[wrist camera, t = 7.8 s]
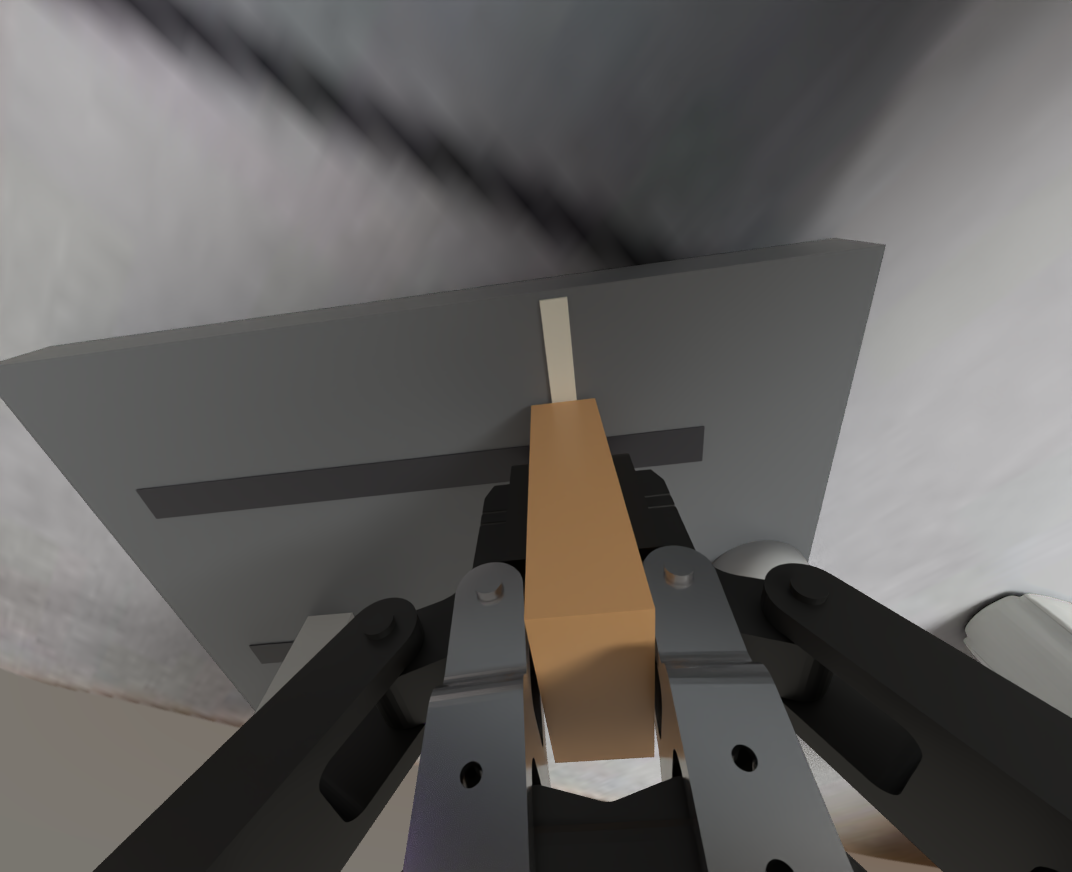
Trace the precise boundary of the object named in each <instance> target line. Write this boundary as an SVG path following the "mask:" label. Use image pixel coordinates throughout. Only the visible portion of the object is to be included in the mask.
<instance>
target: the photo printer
mask: <svg viewBox="0 0 1072 872" xmlns="http://www.w3.org/2000/svg"><path fill="white" fill-rule="evenodd" d="M965 633H966V634H967V637H966V638H965V639H964V643H965V645H966V646H967V647H968V649H969V650H970V651H971V652H972V654H973V655H974V656H975V657H976V658H977V659H978V660H979V662H980V663H981V664H982V665H984V666H986V667H987V668H989V669H991V670H992V671H994V672H996V673H997V674H999V675H1001V676H1002V677H1004V678H1006V679H1007V680H1009V681H1011V682H1012V683H1014V684H1016V685H1017V686H1019V687H1021V688H1023V689H1024V690H1026V691H1028V692H1029V693H1031V694H1033V695H1034V696H1036V697H1038V698H1039V699H1041V700H1043V701H1044V702H1046V703H1048V704H1049V705H1051V706H1053V707H1054V708H1056V709H1058V710H1059V711H1061V712H1063V713H1064V714H1066V715H1068V716H1069V717H1071V718H1072V603H1070V602H1066V601H1063V600H1059V599H1056V598H1052V597H1048V596H1043V595H1037V594H1029V593H1027V594H1024V595H1023V596H1021V597H1018V596H1007V597H1005V598H1002V599H1000V600H998V601H996V602H994V603H992V604H990V605H989V606H987V607H985V608H984V609H982V610H981V611H980V612H978V613H977V614H976V615H975V616H974V617H973V618H972V619H971V620H970V621H969V623H968V624H967V626H966V628H965Z"/></svg>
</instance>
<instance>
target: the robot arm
mask: <svg viewBox="0 0 1072 872" xmlns="http://www.w3.org/2000/svg"><path fill="white" fill-rule="evenodd" d="M611 456H612V459H613V463H614V466H615V470H616V473H617V477H618V480H619V484H620V487H621V491H622V494H623V498H624V501H625V505H626V508H627V512H628V515H629V519H630V522H631V526H632V529H633V533H634V536H635V540H636V543H637V547H638V550H639V554H640V557H641V561H642V564H643V568H644V571H645V575H646V578H647V582H648V585H649V589H650V592H651V596H652V599H653V603H654V606H655V718H654V722H655V729H656V735H657V741H658V748H659V756H660V767H661V778H662V782H661V783H658V784H656V785H653V786H651V787H648V788H646V789H643V790H641V791H638V792H636V793H633V794H631V795H628V796H626V797H623V798H621V799H618V800H616V801H612V802H603V801H598V800H595V799H591V798H587V797H584V796H580V795H576V794H572V793H569V792H565V791H561V790H557V789H554V788H551V784H550V776H549V770H548V762H547V752H546V739H545V725H544V711H543V704H542V700H541V695H540V691H539V686H538V681H537V677H536V672H535V668H534V663H533V659H532V654H531V650H530V645H529V640H528V636H527V631H526V627H525V622H524V605H525V575H526V545H527V515H528V486H529V464H522V465H513V466H511V474H510V484H506V485H496V486H494V487H493V488H492V489H491V491H490V492H489V493H488V495H487V496H486V497H485V499H484V505H483V511H482V513H483V515H482V516H481V522H480V524H481V526H480V528H479V534H478V539H477V545H476V551H475V556H474V562H473V568H472V570H471V571H469V572H468V573H467V574H466V575H465V576H464V577H463V578H462V579H461V580H460V582H459V584H458V586H457V589H456V593H454V594H453V595H452V596H450V597H448V598H446V599H444V600H442V601H439V602H437V603H434V604H431V605H429V606H426V607H423V608H421V609H418V610H416V609H415V607H414V605H413V604H412V603H411V602H409V601H408V600H406V599H403V598H397V597H396V598H386V599H382V600H379V601H377V602H374V603H372V604H371V605H369V606H367V607H366V608H364V609H363V610H362V611H361V612H359V613H358V614H357V615H356V616H355V617H354V618H353V619H352V620H351V621H350V622H349V623H348V624H347V625H346V626H345V627H344V628H343V629H342V630H341V631H340V632H339V633H338V634H337V635H336V636H334V637H333V638H332V639H331V640H330V641H329V642H328V643H327V644H326V645H325V646H324V647H323V648H322V649H321V650H320V651H319V652H318V653H317V654H316V655H315V656H314V657H313V658H312V659H311V660H310V661H309V662H308V663H307V664H306V665H305V666H304V667H303V668H302V669H301V670H299V671H298V672H297V673H296V674H295V675H294V676H293V677H292V678H291V679H290V680H289V681H288V682H287V683H286V684H285V685H284V686H283V687H282V688H281V689H280V690H279V691H278V692H277V693H276V694H275V695H274V696H273V697H272V698H271V699H270V700H269V701H268V702H267V703H266V704H265V705H263V706H262V707H261V708H260V709H259V710H258V711H257V712H256V713H255V714H254V715H253V716H252V717H251V718H250V719H249V720H248V721H247V722H246V723H245V724H244V725H243V726H242V727H241V728H240V729H239V730H238V731H237V732H236V733H235V734H234V735H233V736H232V737H231V738H230V739H229V740H227V742H225V743H224V744H223V745H222V746H221V747H220V748H219V749H218V750H217V751H216V752H215V753H214V754H213V755H212V756H211V757H210V758H209V759H208V760H207V761H206V762H205V763H204V764H203V765H202V766H201V767H200V768H199V769H198V770H197V771H196V772H195V773H194V774H193V775H192V776H190V778H188V779H187V780H186V781H185V782H184V783H183V784H182V786H180V787H179V788H178V789H177V790H176V791H175V792H174V793H173V794H172V795H171V796H170V797H169V798H168V799H167V800H166V801H165V802H164V803H163V804H162V805H161V806H160V807H159V808H158V809H157V810H155V811H154V812H153V813H152V814H151V815H150V816H149V817H148V818H147V819H146V820H145V821H144V822H143V823H142V824H141V825H140V826H139V827H138V828H137V829H136V830H135V831H134V832H133V833H132V834H131V835H130V836H129V837H128V838H127V839H126V840H125V841H124V842H123V843H121V845H119V846H118V847H117V848H116V849H115V850H114V851H113V853H111V854H110V855H109V856H108V857H107V858H106V859H105V860H104V861H103V862H102V863H101V864H100V865H99V866H98V867H97V868H96V869H95V870H94V871H93V872H340V871H341V870H342V868H343V867H344V866H345V864H346V863H347V861H348V860H349V858H350V856H351V855H352V854H353V852H354V851H355V849H356V848H357V846H358V845H359V843H360V842H361V841H362V839H363V838H364V836H365V835H366V833H367V832H368V830H369V828H370V827H371V826H372V824H373V823H374V822H375V820H376V818H377V817H378V816H379V814H380V813H381V811H382V810H383V808H384V807H385V805H386V804H387V803H388V801H389V799H390V798H391V797H392V795H393V794H394V792H395V791H396V789H397V788H398V786H399V785H400V783H401V782H402V781H403V779H404V778H405V776H406V775H407V773H408V772H409V770H410V769H411V767H412V766H413V764H414V763H415V762H416V760H417V759H418V757H419V756H420V754H421V756H420V763H419V770H418V776H417V782H416V789H415V795H414V802H413V809H412V815H411V821H410V828H409V834H408V841H407V847H406V854H405V860H404V867H403V870H402V871H401V872H867V871H866V870H865V869H864V868H863V867H862V866H861V865H860V864H859V863H858V862H856V861H855V860H854V859H853V858H852V857H851V856H850V855H849V854H848V853H847V852H846V851H845V850H844V848H843V845H842V843H841V840H840V838H839V836H838V833H837V831H836V829H835V826H834V824H833V821H832V819H831V817H830V814H829V812H828V810H827V807H826V805H825V802H824V800H823V798H822V795H821V793H820V790H819V788H818V786H817V783H816V781H815V779H814V776H813V774H812V771H811V769H810V767H809V764H808V762H807V759H806V757H805V755H804V752H803V750H802V748H801V745H800V743H799V740H798V738H797V736H796V734H797V735H798V736H799V737H800V738H801V739H802V740H803V741H805V742H806V743H807V744H808V745H809V746H810V747H811V748H812V749H813V750H814V751H815V752H816V753H817V754H818V755H819V756H821V757H822V758H823V759H824V760H825V761H826V762H827V763H828V764H829V765H830V766H831V767H832V768H833V769H834V770H835V771H836V772H838V773H839V774H840V775H841V776H842V777H843V778H844V779H845V780H846V781H847V782H848V783H849V784H850V785H851V786H852V787H853V788H855V789H856V790H857V791H858V792H859V793H860V794H861V795H862V796H863V797H864V798H865V799H866V800H867V801H868V802H869V803H871V804H872V805H873V806H874V807H875V808H876V809H877V810H878V811H879V812H880V813H881V814H882V815H883V816H884V817H885V818H886V819H888V820H889V821H890V822H891V823H892V824H893V825H894V826H895V827H896V828H897V829H898V830H899V831H900V832H901V833H902V834H904V835H905V836H906V837H907V838H908V839H909V840H910V841H911V842H912V843H913V844H914V845H915V846H916V847H917V848H918V849H919V850H921V851H922V852H923V853H924V854H925V855H926V856H927V857H928V858H929V859H930V860H931V861H932V862H933V863H934V864H935V865H936V866H938V867H939V868H940V869H941V870H942V871H943V872H1072V718H1071V717H1069V716H1068V715H1066V714H1064V713H1063V712H1061V711H1059V710H1058V709H1056V708H1054V707H1053V706H1051V705H1049V704H1048V703H1046V702H1044V701H1043V700H1041V699H1039V698H1038V697H1036V696H1034V695H1033V694H1031V693H1029V692H1028V691H1026V690H1024V689H1023V688H1021V687H1019V686H1017V685H1016V684H1014V683H1012V682H1011V681H1009V680H1007V679H1006V678H1004V677H1002V676H1001V675H999V674H997V673H996V672H994V671H992V670H991V669H989V668H987V667H986V666H984V665H982V664H981V663H979V662H977V661H976V660H974V659H972V658H971V657H969V656H967V655H966V654H964V653H962V652H961V651H959V650H957V649H955V648H954V647H952V646H950V645H949V644H947V643H945V642H944V641H942V640H940V639H939V638H937V637H935V636H934V635H932V634H930V633H929V632H927V631H925V630H924V629H922V628H920V627H919V626H917V625H915V624H914V623H912V622H910V621H909V620H907V619H905V618H904V617H902V616H900V615H899V614H897V613H895V612H893V611H892V610H890V609H888V608H887V607H885V606H883V605H882V604H880V603H878V602H877V601H875V600H873V599H872V598H870V597H868V596H867V595H865V594H863V593H862V592H860V591H858V590H857V589H855V588H853V587H852V586H850V585H848V584H847V583H845V582H843V581H842V580H840V579H838V578H837V577H835V576H833V575H831V574H830V573H828V572H826V571H824V570H822V569H819V568H817V567H813V566H810V565H806V564H799V563H786V564H781V565H778V566H776V567H774V568H772V569H771V570H770V571H769V572H768V573H767V574H766V576H765V580H764V579H758V578H752V577H746V576H740V575H735V574H730V573H727V572H724V571H721V570H719V569H717V568H715V567H714V566H713V564H712V563H711V561H710V560H709V559H708V558H707V557H706V556H704V555H703V554H701V553H700V552H698V551H696V550H695V548H694V546H693V543H692V541H691V539H690V537H689V534H688V532H687V530H686V528H685V526H684V523H683V521H682V519H681V517H680V514H679V512H678V510H677V508H676V507H675V503H674V501H673V499H672V497H671V496H670V492H669V490H668V488H667V485H666V483H665V481H664V479H662V478H661V477H660V476H659V475H657V474H656V473H655V472H654V471H653V470H651V469H648V470H638V471H635V469H634V466H633V463H632V460H631V458H630V455H629V453H624V454H615V455H611Z"/></svg>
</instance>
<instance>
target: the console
mask: <svg viewBox="0 0 1072 872" xmlns="http://www.w3.org/2000/svg"><path fill="white" fill-rule="evenodd" d="M885 246H886V245H884V244H876V243H868V242H861V241H853V240H845V239H838V238H832V239H825V240H817V241H810V242H803V243H796V244H788V245H781V246H774V247H767V248H759V249H752V250H745V251H738V252H730V253H723V254H716V255H709V256H701V257H694V258H687V259H680V260H672V261H665V262H658V263H651V264H643V265H636V266H629V267H622V268H615V269H607V270H600V271H593V272H586V273H578V274H571V275H564V276H557V277H549V278H542V279H535V280H528V281H520V282H513V283H506V284H499V285H491V286H484V287H477V288H470V289H462V290H455V291H448V292H441V293H434V294H426V295H419V296H412V297H405V298H397V299H390V300H383V301H376V302H368V303H361V304H354V305H347V306H339V307H332V308H325V309H318V310H310V311H303V312H296V313H289V314H281V315H274V316H267V317H260V318H252V319H245V320H238V321H231V322H224V323H216V324H209V325H202V326H195V327H187V328H180V329H173V330H166V331H158V332H151V333H144V334H137V335H129V336H122V337H115V338H108V339H100V340H93V341H86V342H79V343H71V344H64V345H57V346H50V347H46V348H43V349H40V350H36V351H33V352H30V353H26V354H23V355H20V356H17V357H13V358H10V359H7V360H3V361H0V397H1V399H2V400H3V401H4V402H5V404H6V405H7V406H8V407H9V408H10V410H11V411H12V412H13V413H14V415H15V416H16V417H17V418H18V420H19V421H20V422H21V423H22V424H23V426H24V427H25V428H26V429H27V431H28V432H29V433H30V434H31V436H32V437H33V438H34V439H35V440H36V442H37V443H38V444H39V445H40V447H41V448H42V449H43V450H44V452H45V453H46V454H47V455H48V457H49V458H50V459H51V460H52V461H53V463H54V464H55V465H56V466H57V468H58V469H59V470H60V471H61V473H62V474H63V475H64V476H65V477H66V479H67V480H68V481H69V482H70V484H71V485H72V486H73V487H74V489H75V490H76V491H77V492H78V494H79V495H80V496H81V497H82V498H83V500H84V501H85V502H86V503H87V505H88V506H89V507H90V508H91V510H92V511H93V512H94V513H95V514H96V516H97V517H98V518H99V519H100V521H101V522H102V523H103V524H104V526H105V527H106V528H107V529H108V530H109V532H110V533H111V534H112V535H113V537H114V538H115V539H116V540H117V542H118V543H119V544H120V545H121V547H122V548H123V549H124V550H125V551H126V553H127V554H128V555H129V556H130V558H131V559H132V560H133V561H134V563H135V564H136V565H137V566H138V567H139V569H140V570H141V571H142V572H143V574H144V575H145V576H146V577H147V579H148V580H149V581H150V582H151V583H152V585H153V586H154V587H155V588H156V590H157V591H158V592H159V593H160V595H161V596H162V597H163V598H164V600H165V601H166V602H167V603H168V604H169V606H170V607H171V608H172V609H173V611H174V612H175V613H176V614H177V616H178V617H179V618H180V619H181V620H182V622H183V623H184V624H185V625H186V627H187V628H188V629H189V630H190V632H191V633H192V634H193V635H194V637H195V638H196V639H197V640H198V641H199V643H200V644H201V645H202V646H203V648H204V649H205V650H206V651H207V653H208V654H209V655H210V656H211V657H212V659H213V660H214V661H215V662H216V664H217V665H218V666H219V667H220V669H221V670H222V671H223V672H224V673H225V675H226V676H227V677H228V678H229V680H230V681H231V682H232V683H233V685H234V686H235V687H236V688H237V690H238V691H239V692H240V693H241V694H242V696H243V697H244V698H245V699H246V701H247V702H248V703H249V704H250V706H251V707H252V708H253V709H254V710H255V713H256V712H257V711H258V710H259V709H260V708H261V707H262V706H263V705H265V704H266V703H267V702H268V701H269V700H270V699H271V698H272V697H273V696H274V695H275V694H276V693H277V692H278V691H279V690H280V689H281V688H282V687H283V686H284V685H285V684H286V683H287V682H288V681H289V680H290V679H291V678H292V677H293V676H294V675H295V674H296V673H297V672H298V671H299V670H301V669H302V668H303V667H304V666H305V665H306V664H307V663H308V662H309V661H310V660H311V659H312V658H313V657H314V656H315V655H316V654H317V653H318V652H319V651H320V650H321V649H322V648H323V647H324V646H325V645H326V644H327V643H328V642H329V641H330V640H331V639H332V638H333V637H334V636H336V635H337V634H338V633H339V632H340V631H341V630H342V629H343V628H344V627H345V626H346V625H347V624H348V623H349V622H350V621H351V620H352V619H353V618H354V617H355V616H356V615H357V614H358V613H359V612H361V611H362V610H363V609H364V608H366V607H367V606H369V605H371V604H372V603H374V602H377V601H379V600H382V599H386V598H396V597H397V598H403V599H406V600H408V601H409V602H411V603H412V604H413V605H414V607H415V609H416V610H418V609H421V608H423V607H426V606H429V605H431V604H434V603H437V602H439V601H442V600H444V599H446V598H448V597H450V596H452V595H453V594H454V593H456V589H457V586H458V584H459V582H460V580H461V579H462V578H463V577H464V576H465V575H466V574H467V573H468V572H469V571H471V570H472V568H473V562H474V556H475V551H476V545H477V539H478V534H479V528H480V526H481V524H480V522H481V516H482V515H483V513H482V511H483V505H484V499H485V497H486V496H487V495H488V493H489V492H490V491H491V489H492V488H493V487H494V486H496V485H506V484H510V474H511V466H513V465H522V464H529V456H530V426H531V406H532V405H540V404H549V403H557V402H566V401H574V400H583V399H591V398H595V400H596V403H597V407H598V410H599V414H600V417H601V421H602V424H603V428H604V431H605V435H606V438H607V442H608V445H609V449H610V452H611V455H615V454H624V453H629V455H630V458H631V460H632V463H633V466H634V469H635V471H638V470H648V469H651V470H653V471H654V472H655V473H656V474H657V475H659V476H660V477H661V478H662V479H664V481H665V483H666V485H667V488H668V490H669V492H670V496H671V497H672V499H673V501H674V503H675V507H676V508H677V510H678V512H679V514H680V517H681V519H682V521H683V523H684V526H685V528H686V530H687V532H688V534H689V537H690V539H691V541H692V543H693V546H694V548H695V550H696V551H698V552H700V553H701V554H703V555H704V556H706V557H707V558H708V559H709V560H710V561H711V563H712V564H713V566H714V567H715V568H717V569H719V570H721V571H724V572H727V573H730V574H735V575H740V576H746V577H752V578H758V579H764V580H765V576H766V574H767V573H768V572H769V571H770V570H771V569H772V568H774V567H776V566H778V565H781V564H786V563H799V564H806V565H809V563H808V559H809V555H810V551H811V547H812V543H813V539H814V535H815V531H816V527H817V523H818V519H819V515H820V511H821V506H822V502H823V498H824V494H825V490H826V486H827V482H828V478H829V474H830V470H831V466H832V462H833V458H834V454H835V450H836V445H837V441H838V437H839V433H840V429H841V425H842V421H843V417H844V413H845V409H846V405H847V401H848V397H849V393H850V389H851V384H852V380H853V376H854V372H855V368H856V364H857V360H858V356H859V352H860V348H861V344H862V340H863V336H864V332H865V327H866V323H867V319H868V315H869V311H870V307H871V303H872V299H873V295H874V291H875V287H876V283H877V279H878V275H879V271H880V266H881V262H882V258H883V254H884V250H885ZM255 713H254V714H255Z"/></svg>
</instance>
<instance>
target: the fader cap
mask: <svg viewBox="0 0 1072 872" xmlns="http://www.w3.org/2000/svg"><path fill="white" fill-rule="evenodd" d="M524 622H525V627H526V631H527V636H528V640H529V645H530V650H531V654H532V659H533V663H534V668H535V672H536V677H537V681H538V686H539V691H540V695H541V700H542V704H543V709H544V713H545V718H546V722H547V727H548V732H549V736H550V741H551V745H552V750H553V754H554V759H555V763H562V762H578V761H595V760H611V759H628V758H644V757H654V718H655V606H654V603H653V599H652V596H651V592H650V589H649V585H648V582H647V578H646V575H645V571H644V568H643V564H642V561H641V557H640V554H639V550H638V547H637V543H636V540H635V536H634V533H633V529H632V526H631V522H630V519H629V515H628V512H627V508H626V505H625V501H624V498H623V494H622V491H621V487H620V484H619V480H618V477H617V473H616V470H615V466H614V463H613V459H612V456H611V452H610V449H609V445H608V442H607V438H606V435H605V431H604V428H603V424H602V421H601V417H600V414H599V410H598V407H597V403H596V400H595V398H591V399H583V400H574V401H566V402H557V403H549V404H540V405H532V406H531V426H530V456H529V486H528V515H527V545H526V575H525V605H524Z"/></svg>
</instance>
